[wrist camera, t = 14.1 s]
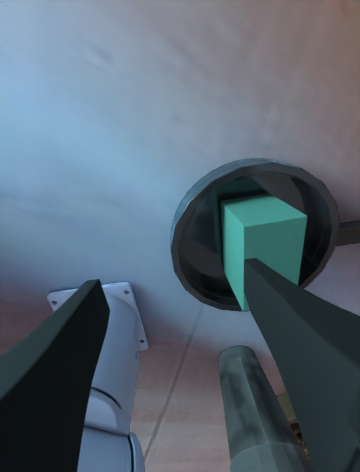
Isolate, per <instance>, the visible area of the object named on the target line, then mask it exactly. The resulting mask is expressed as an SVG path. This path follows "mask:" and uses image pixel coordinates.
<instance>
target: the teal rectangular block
mask: <svg viewBox="0 0 360 472" xmlns="http://www.w3.org/2000/svg"><path fill="white" fill-rule="evenodd" d="M221 221H222V241H223V261H224V273H225V275H226V277H227V279H228V281H229V283H230V286H231V288H232V290H233V292H234V294H235V296H236V298H237V300H238V302H239V304H240V306H241V308H242V310H243V312H247V311H250V309H249V306H248V303H247V300H246V297H245V294H244V259H251V258H257V259H259V260H260V261H262V262H263V263H265V264H266V265H267V266H269V267H270V268H272V269H273V270H275V271H276V272H278V273H279V274H281V275H282V276H284V277H285V278H287V279H288V280H290V281H291V282H293V283H295V284H296V285H298V281H299V274H300V267H301V259H302V252H303V245H304V238H305V231H306V224H307V215H305V214H303V213H302V212H300V211H298V210H297V209H295V208H294V207H292V206H290V205H289V204H287V203H285V202H284V201H282V200H280V199H279V198H277V197H275V196H274V195H272V194H270V193H266V194H260V195H254V196H248V197H242V198H235V199H229V200H223V201H221Z"/></svg>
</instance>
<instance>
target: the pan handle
mask: <svg viewBox="0 0 360 472" xmlns="http://www.w3.org/2000/svg"><path fill="white" fill-rule="evenodd" d="M339 224H340V226H339V230H338V235H337V239H336V244H335V246H342V245H349V244H356V243H360V220H358V221H351V222H344V223H339Z"/></svg>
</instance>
